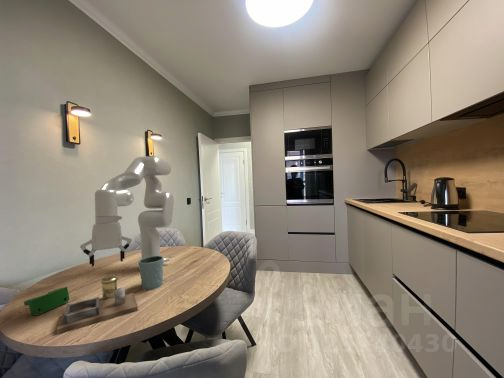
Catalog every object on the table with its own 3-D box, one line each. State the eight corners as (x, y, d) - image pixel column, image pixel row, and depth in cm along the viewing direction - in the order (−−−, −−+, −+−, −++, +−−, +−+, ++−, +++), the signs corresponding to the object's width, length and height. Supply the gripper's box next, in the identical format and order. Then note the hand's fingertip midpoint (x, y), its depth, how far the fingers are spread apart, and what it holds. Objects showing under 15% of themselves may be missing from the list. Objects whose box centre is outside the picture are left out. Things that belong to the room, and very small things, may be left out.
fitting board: (133, 296, 91) (133, 280, 91) (137, 310, 80) (136, 292, 80) (63, 314, 79) (62, 296, 79) (56, 334, 68) (56, 313, 68)
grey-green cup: (168, 282, 104) (168, 256, 104) (152, 292, 95) (151, 263, 95) (151, 280, 108) (150, 255, 107) (134, 289, 98) (133, 261, 98)
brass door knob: (118, 293, 95) (117, 274, 95) (118, 298, 90) (118, 278, 90) (101, 297, 91) (100, 277, 91) (101, 303, 87) (100, 282, 87)
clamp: (56, 313, 88) (62, 288, 92) (66, 312, 86) (72, 286, 90) (17, 317, 79) (26, 288, 83) (27, 315, 76) (35, 286, 80)
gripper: (130, 217, 98) (131, 257, 98) (80, 221, 89) (81, 265, 88) (132, 219, 92) (133, 261, 92) (78, 223, 82) (79, 270, 82)
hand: (107, 263), depth 90 cm, fingers open, 9 cm apart
